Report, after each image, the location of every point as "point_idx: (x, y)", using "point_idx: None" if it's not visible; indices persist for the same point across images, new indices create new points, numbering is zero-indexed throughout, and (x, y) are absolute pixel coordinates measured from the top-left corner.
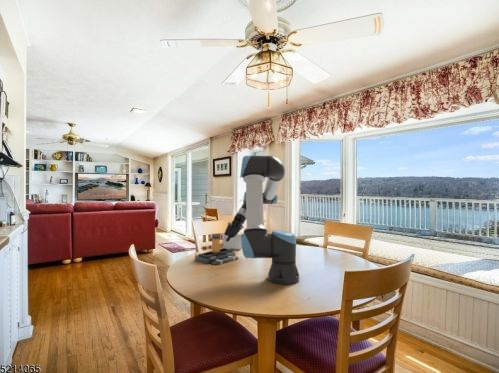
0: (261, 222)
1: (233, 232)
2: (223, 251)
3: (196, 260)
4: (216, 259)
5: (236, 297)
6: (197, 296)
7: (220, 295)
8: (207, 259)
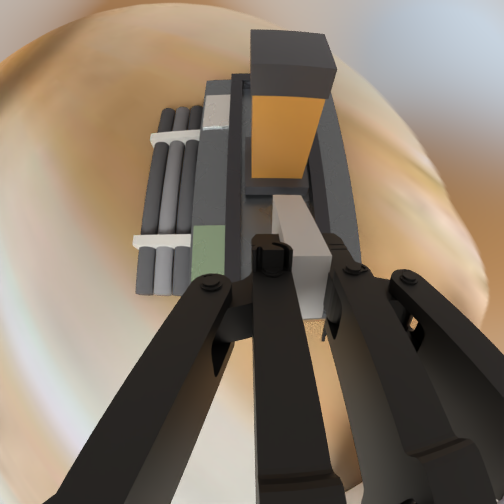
0: None
1: (190, 325)
2: None
3: None
4: (198, 132)
5: (9, 71)
6: (72, 24)
7: (36, 51)
8: (213, 82)
